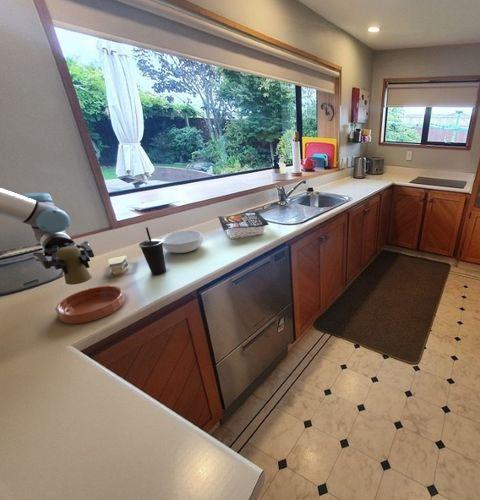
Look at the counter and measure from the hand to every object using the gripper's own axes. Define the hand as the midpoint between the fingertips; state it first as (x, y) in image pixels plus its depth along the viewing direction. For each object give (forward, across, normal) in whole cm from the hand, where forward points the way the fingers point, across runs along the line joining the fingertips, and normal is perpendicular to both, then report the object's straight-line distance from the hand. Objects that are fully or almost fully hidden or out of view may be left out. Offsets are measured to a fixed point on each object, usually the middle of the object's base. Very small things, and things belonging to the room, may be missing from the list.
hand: (76, 266), depth 83 cm
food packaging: (-29, -73, -18) cm, 80 cm away
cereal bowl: (-28, -40, -18) cm, 52 cm away
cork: (-5, 0, -7) cm, 8 cm away
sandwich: (-26, -14, -18) cm, 34 cm away
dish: (-3, 0, -18) cm, 18 cm away
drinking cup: (-13, -23, -18) cm, 32 cm away
